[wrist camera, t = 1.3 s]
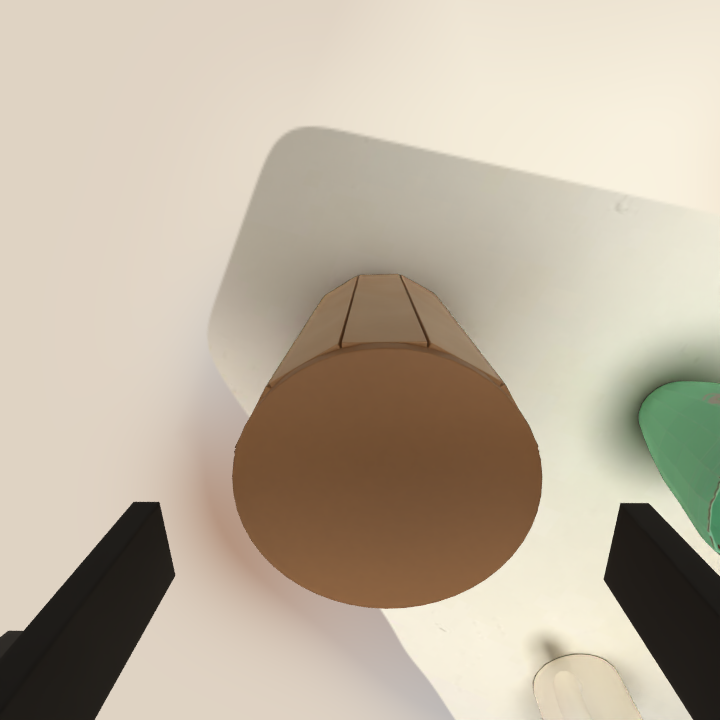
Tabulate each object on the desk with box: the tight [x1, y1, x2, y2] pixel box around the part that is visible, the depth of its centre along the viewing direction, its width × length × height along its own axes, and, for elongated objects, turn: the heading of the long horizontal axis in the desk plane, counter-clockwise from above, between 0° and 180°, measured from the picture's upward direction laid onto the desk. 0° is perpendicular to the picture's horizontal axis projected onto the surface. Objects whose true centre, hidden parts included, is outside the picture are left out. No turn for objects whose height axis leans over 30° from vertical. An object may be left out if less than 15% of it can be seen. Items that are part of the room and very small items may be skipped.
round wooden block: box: [232, 274, 542, 609], centre depth 21 cm, size 10×10×16 cm
